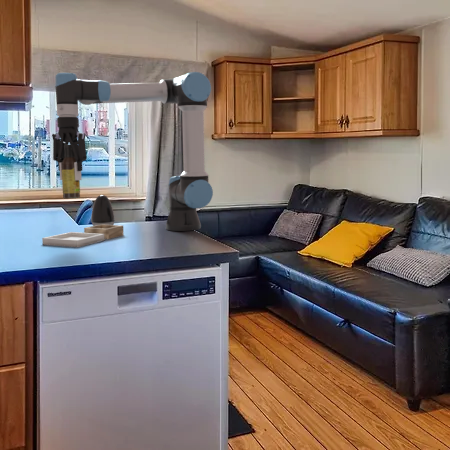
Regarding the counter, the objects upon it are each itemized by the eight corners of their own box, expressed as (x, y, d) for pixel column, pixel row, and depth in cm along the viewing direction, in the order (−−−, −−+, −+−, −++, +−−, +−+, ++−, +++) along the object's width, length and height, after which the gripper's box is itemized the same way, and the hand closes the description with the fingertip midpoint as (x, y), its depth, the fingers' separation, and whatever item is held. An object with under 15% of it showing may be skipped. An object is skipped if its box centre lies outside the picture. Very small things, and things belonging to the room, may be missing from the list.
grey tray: (104, 240, 206) (104, 234, 206) (77, 247, 192) (76, 240, 192) (71, 238, 213) (71, 231, 213) (42, 244, 198) (42, 238, 198)
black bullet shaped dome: (118, 227, 241) (117, 193, 239) (111, 231, 231) (109, 195, 229) (96, 227, 242) (94, 194, 240) (88, 231, 232) (86, 196, 230)
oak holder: (123, 235, 219) (123, 225, 218) (107, 239, 209) (106, 229, 208) (101, 233, 223) (101, 224, 223) (84, 237, 213) (84, 227, 213)
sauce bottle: (80, 198, 198) (77, 144, 195) (62, 199, 196) (59, 144, 194) (80, 197, 204) (78, 144, 201) (63, 197, 203) (61, 144, 200)
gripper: (40, 117, 197) (43, 180, 200) (82, 115, 189) (85, 180, 192) (54, 118, 203) (57, 179, 206) (95, 116, 196) (98, 179, 199)
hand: (70, 179), depth 199 cm, fingers closed on sauce bottle, 6 cm apart
